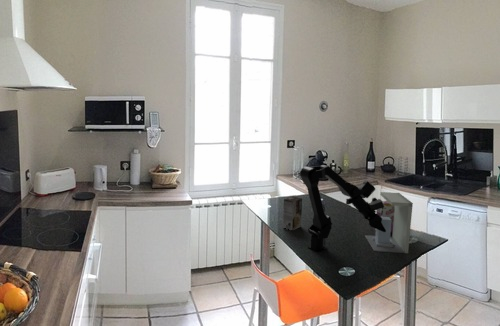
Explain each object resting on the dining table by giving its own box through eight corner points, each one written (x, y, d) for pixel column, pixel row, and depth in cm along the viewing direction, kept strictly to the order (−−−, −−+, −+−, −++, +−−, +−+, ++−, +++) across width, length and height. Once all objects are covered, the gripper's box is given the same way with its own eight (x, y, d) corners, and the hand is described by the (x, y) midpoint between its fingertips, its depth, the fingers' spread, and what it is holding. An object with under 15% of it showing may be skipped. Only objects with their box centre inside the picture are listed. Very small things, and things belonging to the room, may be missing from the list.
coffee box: (291, 224, 205) (292, 196, 203) (301, 226, 201) (302, 198, 199) (282, 228, 198) (283, 199, 196) (292, 231, 194) (293, 201, 192)
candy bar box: (380, 233, 193) (382, 203, 191) (374, 230, 198) (376, 201, 196) (397, 232, 197) (400, 202, 194) (391, 229, 201) (394, 199, 199)
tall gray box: (377, 244, 176) (379, 219, 174) (375, 240, 181) (377, 216, 179) (389, 245, 176) (391, 220, 174) (386, 241, 181) (388, 216, 179)
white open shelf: (374, 251, 169) (378, 201, 166) (365, 236, 189) (368, 191, 185) (408, 253, 168) (412, 203, 164) (395, 237, 188) (399, 192, 184)
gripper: (379, 198, 166) (402, 223, 167) (369, 189, 184) (390, 212, 185) (359, 214, 168) (382, 239, 169) (352, 204, 186) (373, 226, 187)
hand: (382, 228), depth 177 cm, fingers open, 9 cm apart
